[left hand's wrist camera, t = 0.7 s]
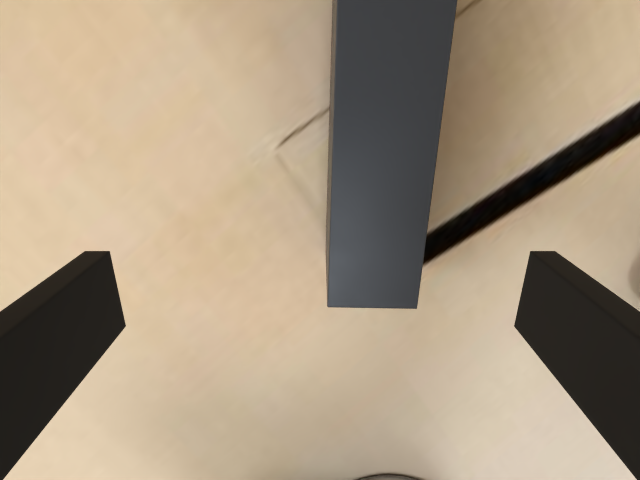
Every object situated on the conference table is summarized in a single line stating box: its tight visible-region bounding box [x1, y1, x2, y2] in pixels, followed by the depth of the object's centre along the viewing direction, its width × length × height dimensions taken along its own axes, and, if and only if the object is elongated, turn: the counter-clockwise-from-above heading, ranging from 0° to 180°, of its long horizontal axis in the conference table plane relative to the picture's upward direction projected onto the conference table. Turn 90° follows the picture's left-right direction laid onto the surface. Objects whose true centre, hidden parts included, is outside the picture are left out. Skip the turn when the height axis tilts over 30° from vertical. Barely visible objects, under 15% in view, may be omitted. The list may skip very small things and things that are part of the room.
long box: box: [326, 0, 457, 309], centre depth 26 cm, size 26×6×9 cm, turn 179°
